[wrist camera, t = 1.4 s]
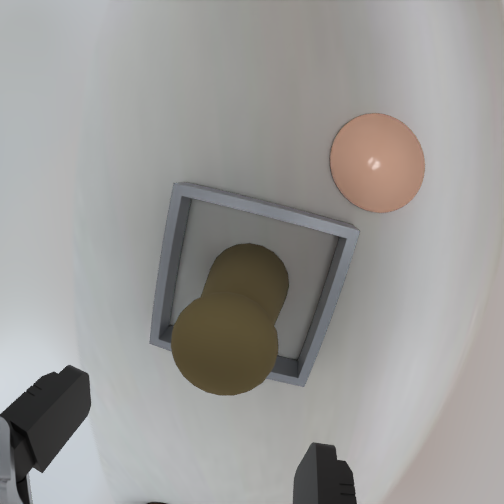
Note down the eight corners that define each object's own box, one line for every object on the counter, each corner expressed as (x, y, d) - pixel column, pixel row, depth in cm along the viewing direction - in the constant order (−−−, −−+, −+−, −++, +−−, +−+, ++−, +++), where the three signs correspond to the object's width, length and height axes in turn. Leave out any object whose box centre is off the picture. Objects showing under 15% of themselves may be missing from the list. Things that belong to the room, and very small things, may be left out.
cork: (259, 227, 23) (232, 274, 12) (304, 294, 24) (311, 383, 13) (193, 270, 24) (128, 338, 14) (238, 332, 25) (206, 427, 15)
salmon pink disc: (342, 102, 20) (343, 100, 20) (429, 133, 20) (433, 133, 19) (319, 196, 22) (319, 196, 21) (408, 223, 22) (410, 224, 21)
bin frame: (185, 182, 23) (173, 183, 20) (352, 224, 22) (360, 230, 20) (160, 329, 26) (149, 343, 24) (303, 369, 25) (304, 386, 23)
